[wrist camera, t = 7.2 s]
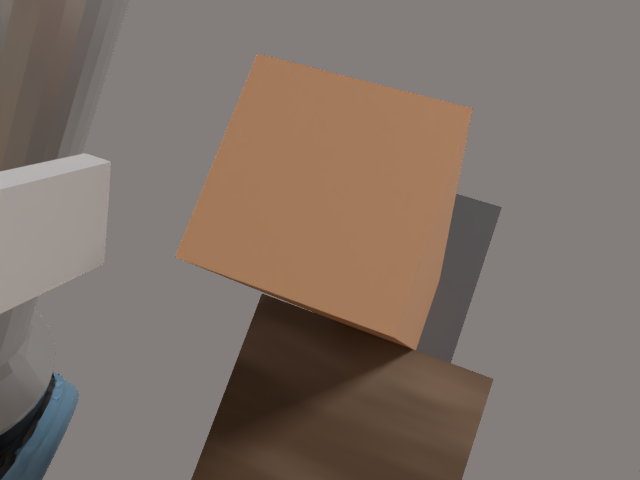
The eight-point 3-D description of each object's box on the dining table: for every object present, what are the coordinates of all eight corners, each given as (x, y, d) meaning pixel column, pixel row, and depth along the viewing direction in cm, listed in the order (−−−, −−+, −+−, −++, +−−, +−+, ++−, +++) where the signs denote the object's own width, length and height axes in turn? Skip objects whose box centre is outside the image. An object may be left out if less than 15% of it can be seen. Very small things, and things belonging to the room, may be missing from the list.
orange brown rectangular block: (514, 381, 7) (671, -124, 8) (85, 224, 9) (260, -182, 10) (445, 362, 33) (486, 236, 34) (335, 321, 35) (378, 203, 36)
